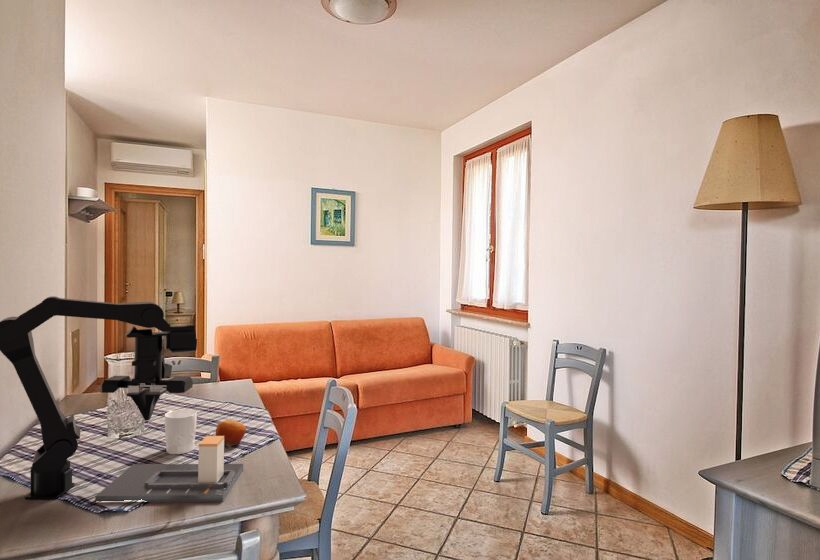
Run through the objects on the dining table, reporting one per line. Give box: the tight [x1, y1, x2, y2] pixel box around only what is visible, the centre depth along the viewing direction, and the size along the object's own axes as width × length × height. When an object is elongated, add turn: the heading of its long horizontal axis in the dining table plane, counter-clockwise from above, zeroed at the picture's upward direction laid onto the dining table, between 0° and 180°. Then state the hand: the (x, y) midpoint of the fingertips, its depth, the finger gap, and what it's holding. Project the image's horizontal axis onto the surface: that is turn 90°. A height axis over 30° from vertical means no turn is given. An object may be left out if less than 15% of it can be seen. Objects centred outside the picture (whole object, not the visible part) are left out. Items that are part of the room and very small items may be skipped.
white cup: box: [164, 408, 198, 455], centre depth 128 cm, size 8×8×10 cm
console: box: [94, 463, 244, 504], centre depth 108 cm, size 26×16×2 cm, turn 95°
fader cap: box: [197, 435, 225, 483], centre depth 108 cm, size 4×5×9 cm
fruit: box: [215, 419, 247, 450], centre depth 133 cm, size 8×8×8 cm
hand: (147, 420), depth 113 cm, fingers closed
